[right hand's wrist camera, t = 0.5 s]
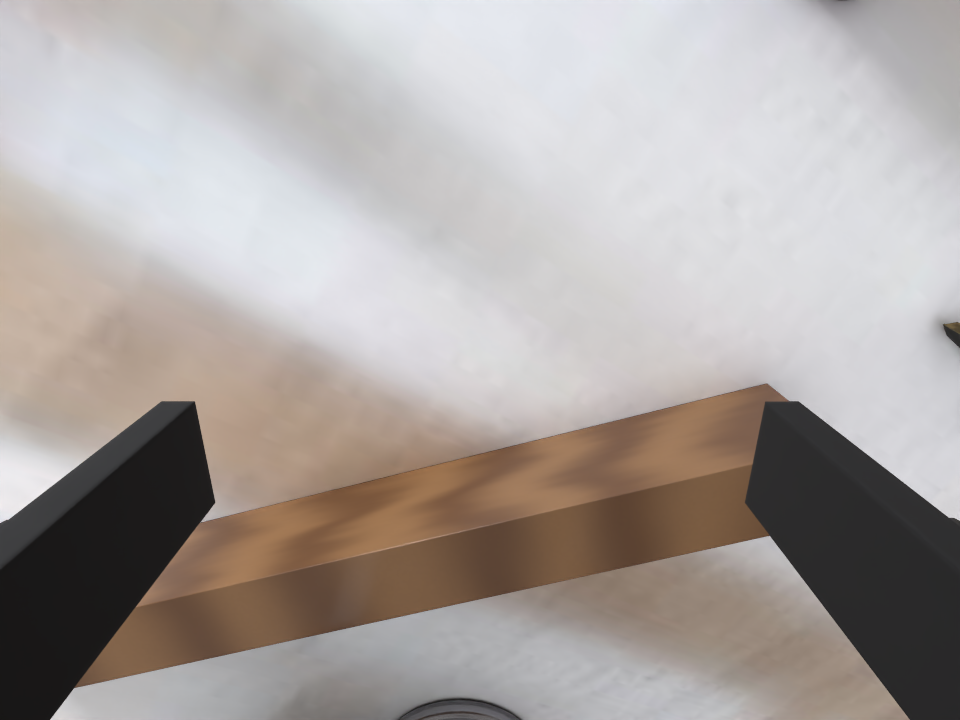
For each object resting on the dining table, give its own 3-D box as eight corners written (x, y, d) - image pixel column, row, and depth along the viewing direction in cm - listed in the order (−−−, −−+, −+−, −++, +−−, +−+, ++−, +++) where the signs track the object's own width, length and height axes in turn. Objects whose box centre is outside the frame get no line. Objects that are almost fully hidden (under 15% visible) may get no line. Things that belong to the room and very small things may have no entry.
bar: (767, 383, 40) (841, 443, 31) (773, 447, 42) (846, 519, 33) (-24, 577, 46) (-133, 669, 38) (13, 625, 48) (-84, 722, 40)
